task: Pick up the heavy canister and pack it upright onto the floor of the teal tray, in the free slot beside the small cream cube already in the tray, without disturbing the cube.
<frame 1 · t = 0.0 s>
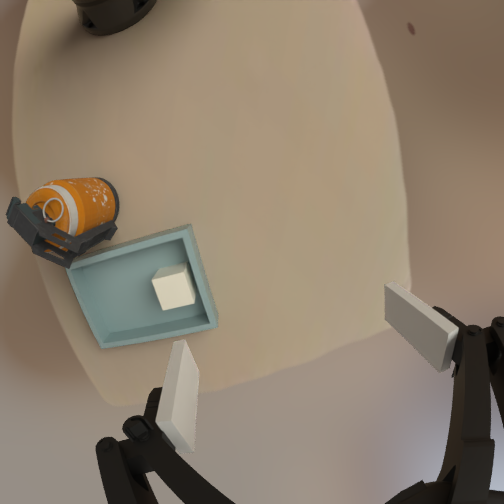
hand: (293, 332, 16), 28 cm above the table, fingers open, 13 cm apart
cream cube: (177, 279, 43), point 1 cm above the table, touching teal tray
canister: (101, 208, 39), on the table
teal tray: (143, 286, 43), on the table
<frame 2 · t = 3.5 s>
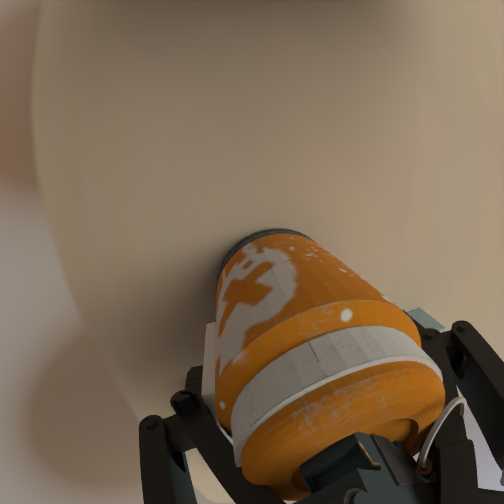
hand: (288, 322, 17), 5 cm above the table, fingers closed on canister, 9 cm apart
canister: (283, 289, 22), on the table, touching gripper
teal tray: (329, 397, 26), on the table
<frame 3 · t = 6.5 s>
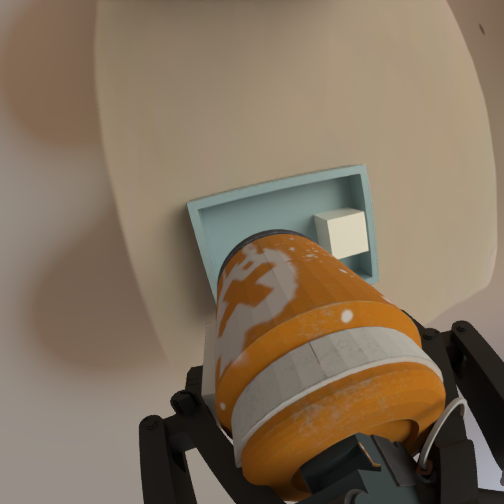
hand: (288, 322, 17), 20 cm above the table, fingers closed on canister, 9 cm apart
cream cube: (333, 228, 36), point 1 cm above the table, touching teal tray
canister: (283, 289, 22), point 15 cm above the table, touching gripper
teal tray: (287, 238, 37), on the table
when the fingers open (7 cm above the table, at t = 9.3 s): canister drops 1 cm, resting on teal tray.
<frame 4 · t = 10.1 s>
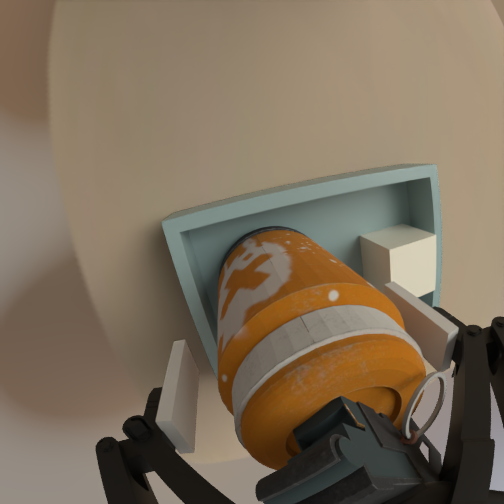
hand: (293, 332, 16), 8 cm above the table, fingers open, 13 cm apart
cream cube: (384, 254, 24), point 1 cm above the table, touching teal tray
canister: (280, 283, 24), point 1 cm above the table, touching teal tray
teal tray: (319, 270, 24), on the table
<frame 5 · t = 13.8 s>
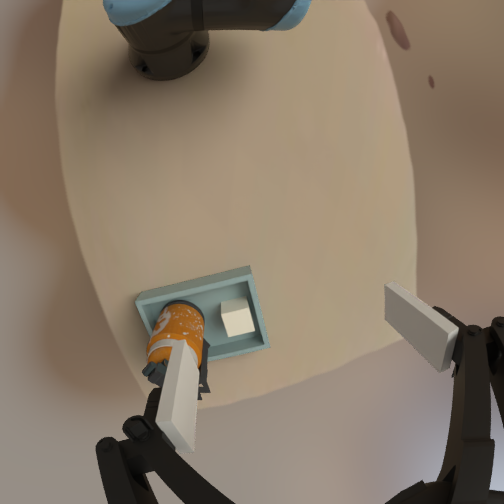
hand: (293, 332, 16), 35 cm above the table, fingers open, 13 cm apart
cream cube: (236, 310, 53), point 1 cm above the table, touching teal tray
canister: (186, 321, 53), point 1 cm above the table, touching teal tray
teal tray: (205, 315, 53), on the table
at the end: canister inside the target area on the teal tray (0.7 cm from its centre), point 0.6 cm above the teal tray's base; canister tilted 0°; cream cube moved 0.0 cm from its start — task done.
